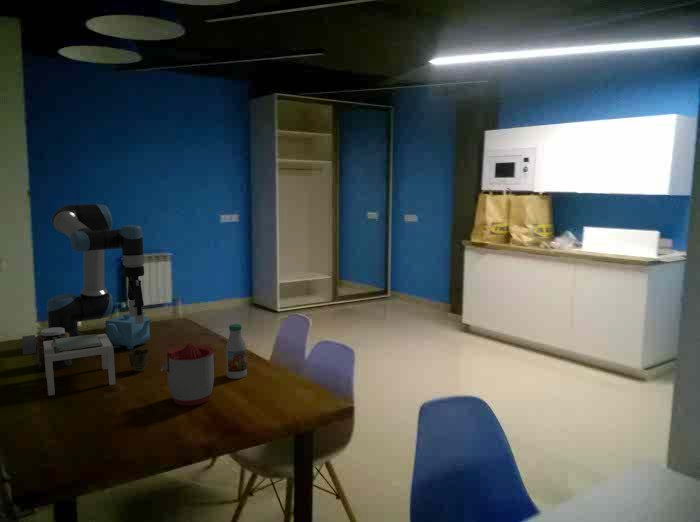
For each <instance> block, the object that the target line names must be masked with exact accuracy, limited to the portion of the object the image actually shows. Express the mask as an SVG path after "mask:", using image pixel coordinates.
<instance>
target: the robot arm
mask: <svg viewBox="0 0 700 522" xmlns="http://www.w3.org/2000/svg"><path fill="white" fill-rule="evenodd" d="M51 224H52V227H53V228H54V229H55V230H56V231H57V232H59V233H61V234H65V235H66V236H67V237H68V238H69V240H70V246H71V249H72V250H73V251H74V252H83V254H82V255H83V256H82V257H83V288H82V289H81V290H80V293H79V294H80V295H79V296H78V295H76V294H74V293H64V294H59V295H55V296H53V297H50V298H49V299H48V300H47V302H46V314H47V326H48V327H47V328H54V327H62V328H65V332H67V333H69V335H70V337H76V336H82V335H81V332H80V331H79V327H78V323H79V322H86V321H94V320H101V319H104V318H105V319H106V318H108V317H109V316H110V315H111V314H112V312H113V309H114V308H113V307H114V301H113V295H112V294H111V293H110V292H109V290H108V289H107V288H106V287H105V250H107V251H108V250H118V249H120V250H121V254H122V257H120V261H122V265H123V267H122V272H123V273H122V274H123V276H124V277H126V278H127V299H128V312H129V313H128V314H129V315H130V317H134V316H135V322H136V324H141V323H143V317H144V316H143V312H144V309H143V308H144V307H143V306H144V304H145V303H144V298H143V290H142V281H141V280H140V278H139V277H142V276H144V275H145V266H144V264H145V259H144V258H145V257H144V242H143V241H144V240H143V236H144V234H143V227H142V226H141V225H137V224H136V225H135V224H130V225H129V224H128V225H123V226H121V227H120V228H117V229H113V225H114V224H113V216H112V213H111V210H110V209H109V207H108V206H107V205H105V204H96V203H90V204H84V203H83V204H67V205H63V206H61V207H59V208H57V210H56V211H54V212H53V213H52V216H51Z"/></svg>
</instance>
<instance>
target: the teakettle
mask: <svg viewBox="0 0 700 522" xmlns="http://www.w3.org/2000/svg"><path fill="white" fill-rule="evenodd" d="M145 315H146V312H145V311H143V323H141V324H136V322H135V316H134V317H130V315H129V313H124V314H123V315H119V316H117V317H113V318H109V319H106V320H105V334H106V335H107V337H108V339H109V340H110V342H111V344H112V346H113V345H114V346H113V348H114V349H119V348H121V347H126V350H128V351H129V350H130V351H131V350H135V349H134V348H135V347H136V346H142V345H143V346H144V345H145V343H146V342H148V341H150V339H151V335H150V334H151V333H150V323H151V322H153V321H154V320H153V319H150V317H149V316H145Z"/></svg>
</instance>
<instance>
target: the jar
mask: <svg viewBox="0 0 700 522" xmlns="http://www.w3.org/2000/svg"><path fill="white" fill-rule="evenodd" d="M54 337H57V339H60V338H68V337H70V335H69V333H67V332H65V328H62V327H54V328H48V327H47V328H44V329H42V330H40V334H39V335H37V337H36V338H35V340H36V352H37V353H36V355H37V367H38V370H41V371H45V358H44V345H43V341H51V340H53V338H54ZM55 348H56V347H54V351H55ZM67 351H72V349H71V350H63V351H59V352H67ZM52 362H53V371H56V370H61V369H64V368H68V367H70V366H72V365H73V360H72V359H66V360H59V361H52Z"/></svg>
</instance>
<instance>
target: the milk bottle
mask: <svg viewBox="0 0 700 522" xmlns="http://www.w3.org/2000/svg"><path fill="white" fill-rule="evenodd" d="M228 329H229V336H228V339H227V341H226V345H225V373H226V377H227V378H229V379H234V380H235V379H238V380H239V379H242V378H245V377H246V376H247V374H248V367H247V346H246V342H245V341H246V340H245V339H244V337H243V335H242V329H243V327H242V324H239V323H233V324H230V325H229V326H228Z"/></svg>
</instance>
